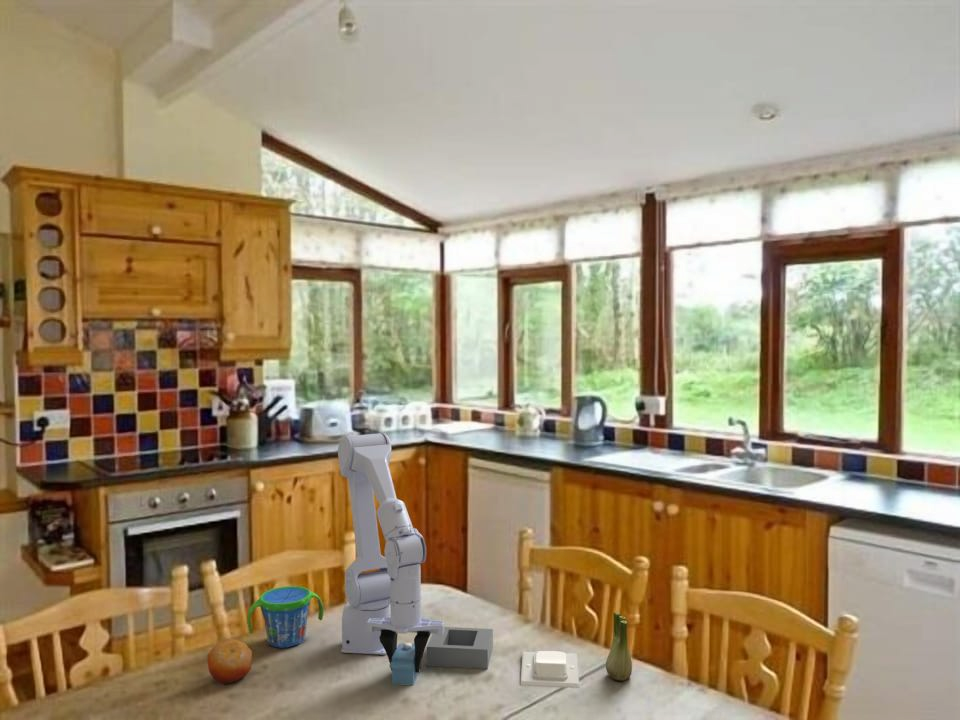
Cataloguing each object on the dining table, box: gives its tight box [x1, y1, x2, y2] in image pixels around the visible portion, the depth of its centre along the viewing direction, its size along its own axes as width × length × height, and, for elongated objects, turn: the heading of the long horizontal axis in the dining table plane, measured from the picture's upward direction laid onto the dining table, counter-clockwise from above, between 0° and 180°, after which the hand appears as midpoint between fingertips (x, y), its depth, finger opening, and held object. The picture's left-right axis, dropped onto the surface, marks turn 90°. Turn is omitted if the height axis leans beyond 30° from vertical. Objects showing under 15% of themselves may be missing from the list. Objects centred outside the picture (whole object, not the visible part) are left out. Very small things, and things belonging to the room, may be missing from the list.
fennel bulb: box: [605, 610, 633, 682], centre depth 139 cm, size 6×5×12 cm
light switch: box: [519, 650, 580, 689], centre depth 142 cm, size 11×4×13 cm
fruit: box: [206, 638, 253, 685], centre depth 140 cm, size 8×8×8 cm
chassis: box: [426, 626, 494, 670], centre depth 149 cm, size 12×10×4 cm
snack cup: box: [246, 585, 324, 649], centre depth 156 cm, size 16×10×10 cm
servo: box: [389, 642, 419, 686], centre depth 140 cm, size 4×10×6 cm, turn 173°
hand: (406, 669), depth 140 cm, fingers closed on servo, 4 cm apart
